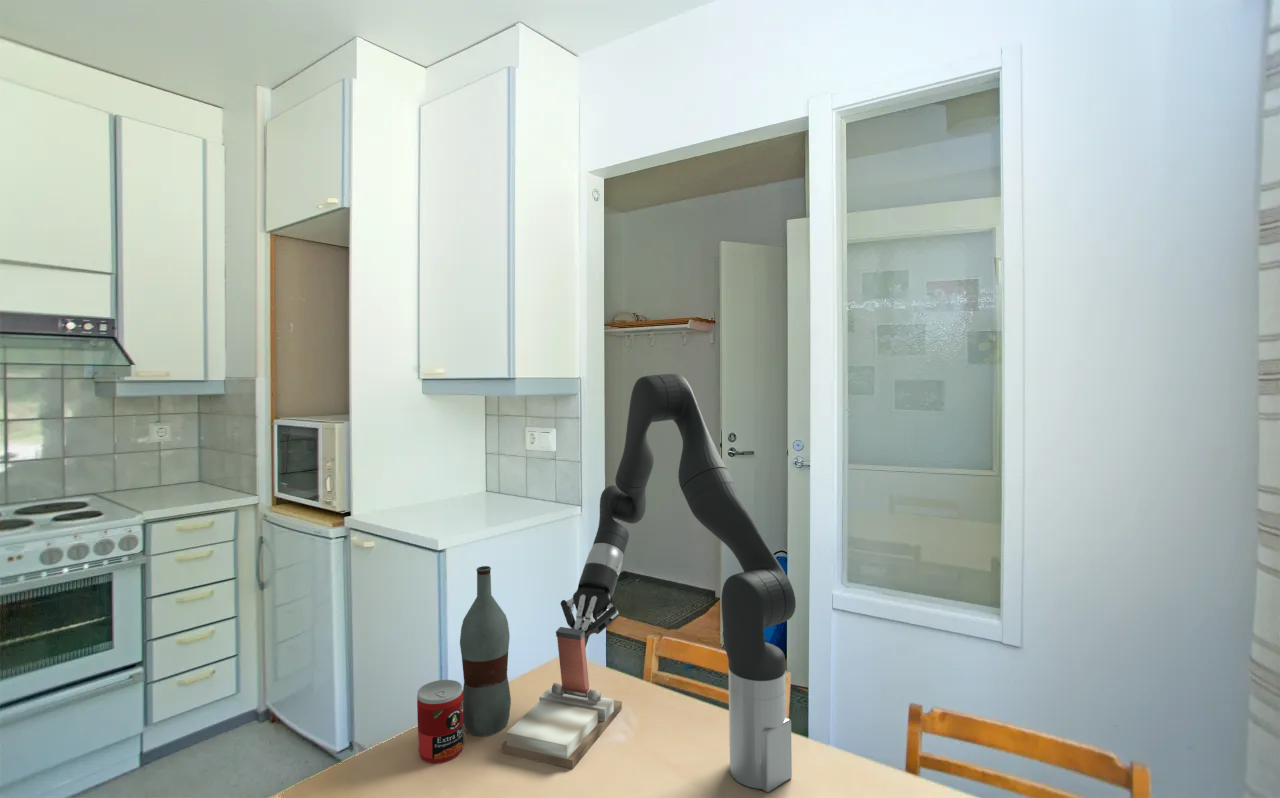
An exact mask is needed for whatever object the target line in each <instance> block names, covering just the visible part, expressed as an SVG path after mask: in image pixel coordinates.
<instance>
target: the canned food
mask: <svg viewBox="0 0 1280 798" xmlns="http://www.w3.org/2000/svg"><path fill="white" fill-rule="evenodd" d="M416 699H417V700H416V701H417V702H416V705H417V706H416V707H417V710H416V711H417V739H418V740H417V747H418V748H417V749H418V754H419V757H420V758H421V760H423V761H424V762H427V763H430V764H431V763H432V764H440V763H444V762H448V761H451V760H453V759H455V758H456V757H457V756H459V755H460V753H462V751H463V746H464V739H465V738H464V724H463V685H462V683H461V682H459V681H457V680H454V679H453V680H452V679H439V680H435V681H434V680H433V681H431V682H430V681H429V682H428V683H426V684H424V685H422V686H421V687H420V688H419V689H418V690H417V696H416Z"/></svg>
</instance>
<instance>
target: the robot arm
mask: <svg viewBox="0 0 1280 798" xmlns="http://www.w3.org/2000/svg"><path fill="white" fill-rule="evenodd" d="M632 388H633V389H632V391H631V395H630V400H629V408H628V415H627V423H626V434H625V441H624V442H625V443H624V448H623V453H622V456H621V459H620V461H619V465H618V468H617V472H616V475H615V477H614V480H615V485H609V486H607V487H606V488H604V490H602V492H601V494H600V498H599V522H598V527H597V531H596V535H595V538H594V540H593V543H592V546H591V549H590V551H589V552H588V555H587V558H586V560H585V563H584V566H583V569H582V572H581V576H580V578H579V581H578V585H577V589H576V591H575V592H574V593H573V596H572V598H570V599H568V600H565V599H562V600H561V602H560V606H561V609H562V612H563V615H564V618H565V620H566V622H567V625H568V627H569V628H572V629H579V630H585V636H584V638H585V648H587V644H588V642H589V638H590V636H591V635H593V634H597V635H598V634H600V633H601V632H602V631H604V629H606V628H607V627H609V625H611V624H612V623H613V622H615V620H617V619H618V617H619V616H620V613H619V610H618V609H617V608H616V607H615V606H614V605H613V595H614V594H615V589H616V586H617V584H618V579H619V577H620V574H621V570H622V566H623V559H624V555H625V551H626V550H627V549H626V548H627V546H628V542H629V537H630V534H629V531H628V529H627V528H626V527H625V526H624V525H622V524H620V523H619V522H617V521H622V522H625V523H627V524H632V525H633V524H637V523H639V522H640V521H641V520H643V518H644V516H645V513H646V509H647V508H646V507H647V502H646V501H647V500H646V488H647V485H648V481H649V480H650V476H651V474H652V471H653V468H654V462H655V461H654V460H655V456H654V453H653V450H652V447H651V445H650V442H649V440H648V437H647V433H648V430H649V428H650V426H651V424H652V423H654V422H656V423H657V422H664V421H665V422H666V421H674V423H675V424H676V425H677V429H678V430H679V433H680V437H681V438H682V450H681V455H680V460H679V467H678V484H679V487H680V489H681V492H682V494H683V496H684V498H685V500H686V502H687V505H688V507H689V509H690V511H691V513H692V515H693V516H694V517H695V518H696V520H697V521H698V522H699V523H700V524H702V526H703V527H705V528H706V529H707V530H708V531H709V532H710V533H712V535H714V536H715V537H716V538H718V539H719V540H720V542H722V543H723V544H724V545H726V546H727V547H728V549H729V550H730V551H731V552H732V553H733V555H734V557H735V558H736V559H737V561H738V563H739V564H740V566H741V568H742V572H738V573H735V574H731V576H729V577H727V578H726V580H725V582H724V583H723V586H722V589H721V603H720V604H721V616H722V617H721V620H722V631H723V632H722V633H723V637H722V638H723V646H724V649H725V653H726V655H727V661H728V729H729V730H728V732H729V733H728V734H729V735H728V736H729V739H728V740H729V744H728V745H729V771H730V774H731V776H732V779H734V780H735V781H736V782H737V783H740V784H741V785H743V786H746V787H749V788H753V789H757V790H758V789H759V790H763V791H764V792H766V793H769V792H771V791H772V790H774V789H776V788H777V787H779V786H780V785H782V784H784V783H785V782H787V781H788V780H790V779H792V777H793V774H792V773H793V771H792V769H793V767H792V766H793V763H792V762H793V761H792V759H793V758H792V751H793V750H792V720H791V719H790V718H788V717H787V710H786V709H787V708H786V707H787V701H786V700H787V695H786V692H787V691H786V681H787V680H786V656H785V653H784V651H783V650H782V649H781V648H780V647H779V646H776V645H775V644H773V643H769V642H766V638H765V629H767V628H770V627H772V626H776V625H779V624H782V623H785V622H787V621H788V620H790V619H791V618H792V617H793V616H794V614H795V611H796V604H797V603H796V601H797V600H796V594H795V591H794V589H793V586H792V583H791V581H790V579H789V577H788V575H787V574H786V572H785V570H784V569H783V567H782V565H781V564H780V562H779V561H778V559H777V558H776V556H775V554H774V553H773V552H772V550H771V548H770V547H769V545H768V543H767V542H766V540H765V538H764V537H763V535H762V533H761V532H760V531H759V528H758V527H757V525H756V523H755V521H754V519H753V518H752V516H751V514H750V512H749V510H748V508H747V507H746V504H745V502H744V501H743V499H742V496H741V493H740V492H739V490H738V487H737V485H736V484H735V481H734V480H733V478H732V475H731V473H730V471H729V469H728V468H727V466H726V464H725V463H724V461H723V459H722V457H721V456H720V453H719V451H718V449H717V447H716V445H715V442H714V440H713V439H712V436H711V435H710V432H709V429H708V427H707V425H706V423H705V420H704V417H703V415H702V413H701V410H700V407H699V405H698V402H697V398H696V397H695V394H694V392H693V389H692V387H691V385H690V383H689V382H688V381H687V379H686V378H685V376H683V375H681V374H678V373H664V374H651V375H645V376H641V377H639V378H638V379H637V380H636V381H635V384H633V387H632ZM615 519H616V520H617V521H616V520H615ZM574 606H575V607H574ZM574 609H575V610H576V615H575V617H574V614H573V611H574ZM575 618H576V619H575Z"/></svg>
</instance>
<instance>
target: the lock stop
mask: <svg viewBox="0 0 1280 798" xmlns="http://www.w3.org/2000/svg"><path fill="white" fill-rule="evenodd" d="M584 636H585V630H579V629H572V628H570V627H562V626H560V627H558V629H557V630H556V631H555V637H556V639H557V649H558V650H557V651H558V659H559V669H560V679H561V684H562V689H563V690H564V691H563V692H564V694H567V695H573V696H578V697H584V698H588V692H589V690H590V683H589V674H588V673H589V671H588V661H587V659H588V658H587V652H586V651H587V649H586V648H587V647H586V648H585V638H584Z"/></svg>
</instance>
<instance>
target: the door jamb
mask: <svg viewBox="0 0 1280 798" xmlns="http://www.w3.org/2000/svg"><path fill="white" fill-rule="evenodd" d="M563 691H564V690H563V689H562V683H556V682H554V683H553V684H552V686H551V687H549V688H548V689H547V690H545V691H544V692H543V693H542V694H541V695H540V696H539V697H538V698H539V699H538V700H539V702H537V703H536V704H535V705H534V707H532V708H531V709H530V710H529V711H527V713H526V714H525V715H523V716H522V717H521V718H520V719H519V720H518V721H517V722H516V723H515V724H514V725H512V727H510V728H509V729H508V730H507V731H506V732H505V735H506V736H505V738H506V740H504V742H502V743H501V753H502V754H507V755H510V756H514V757H519V758H523V759H527V760H530V761H531V760H533V761H537V762H540V763H545V764H550V765H553V766H559V767H561V768H565V769H566V768H567V769H571V770H574V768H575V767H576V766H577V765H578V764H579V763H580V761H581V760H582V759H583V758H584V756H585V755H586V754H587V753H588V751H589V750H590V749H591V748H592V746H593V745H594V744H595V743H596V742H597V740H598V739H599V738H600V737H601V735H602V734H603V733H604V732H605V730H606V729H607V728H608V727H609V726H610V724H611V723H612V722H613V721H614V720H615V718H616V717H617V716H618V715H619V713H620V712H621V709H622V710H623V701H620V700H615V699H614V698H608V697H602V692H601V690H596V689H590V688H589V692H588V698H584V697H578V696H573V695H567V694H564V692H563ZM617 714H618V715H617Z"/></svg>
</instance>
